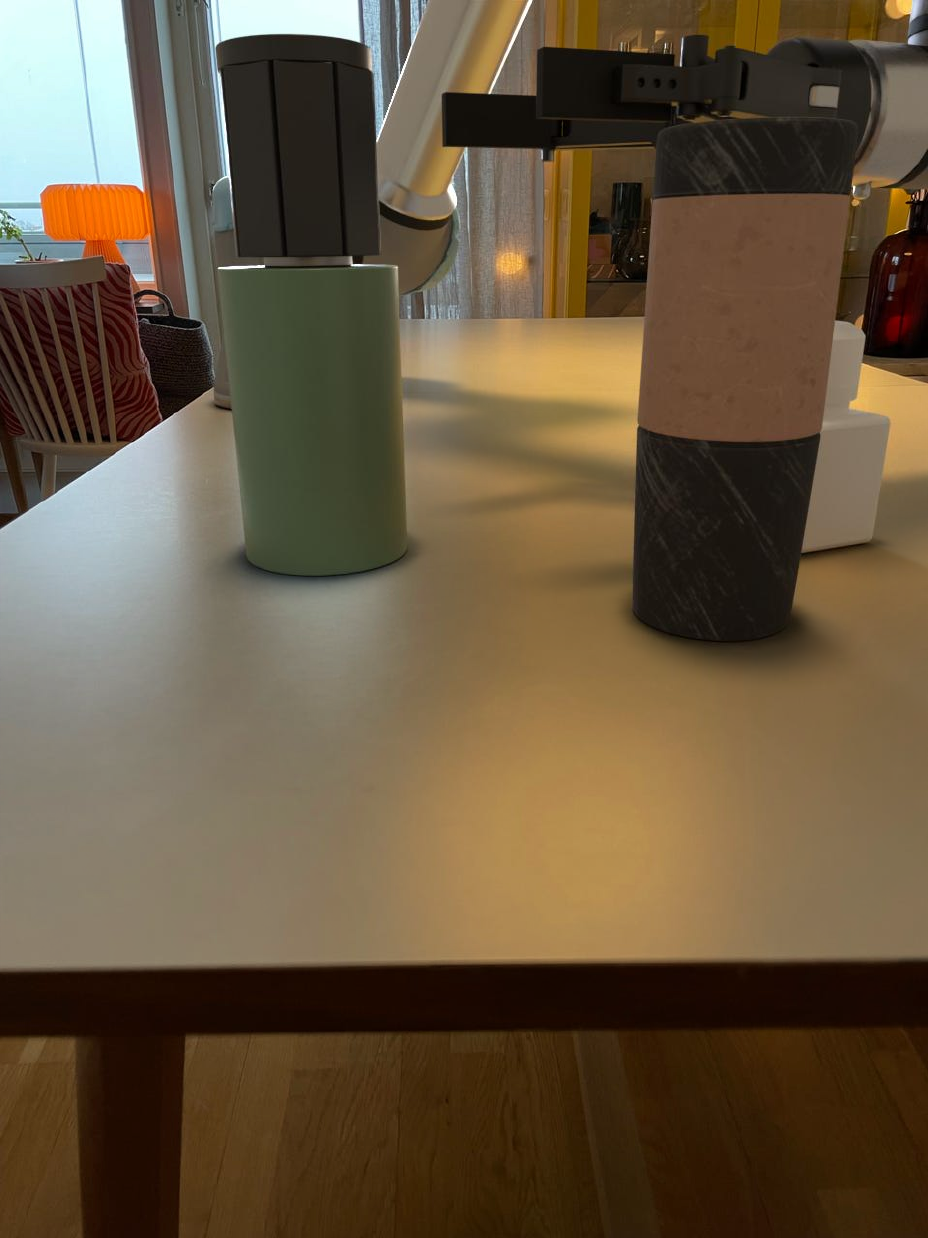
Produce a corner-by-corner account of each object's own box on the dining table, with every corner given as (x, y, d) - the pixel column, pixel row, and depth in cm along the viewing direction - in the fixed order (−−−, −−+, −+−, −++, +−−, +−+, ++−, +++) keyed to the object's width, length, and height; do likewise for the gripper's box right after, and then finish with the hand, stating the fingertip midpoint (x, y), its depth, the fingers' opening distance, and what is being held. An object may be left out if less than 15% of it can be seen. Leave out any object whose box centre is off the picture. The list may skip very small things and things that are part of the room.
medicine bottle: (694, 526, 56) (711, 318, 52) (787, 512, 59) (812, 313, 55) (774, 560, 50) (801, 327, 46) (874, 543, 53) (910, 321, 48)
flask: (243, 534, 56) (197, 85, 47) (391, 522, 58) (374, 90, 49) (250, 583, 48) (196, 52, 39) (422, 567, 50) (408, 60, 41)
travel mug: (806, 650, 39) (881, 112, 32) (622, 637, 41) (653, 120, 33) (786, 589, 46) (843, 135, 39) (629, 579, 48) (655, 141, 40)
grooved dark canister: (232, 256, 49) (214, 60, 46) (367, 254, 51) (359, 65, 48) (237, 257, 43) (216, 30, 40) (391, 255, 45) (383, 36, 41)
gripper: (998, 173, 44) (594, 167, 38) (704, 197, 66) (417, 196, 60) (1032, -14, 41) (602, -55, 35) (714, 76, 63) (413, 61, 57)
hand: (484, 103), depth 47 cm, fingers open, 13 cm apart
